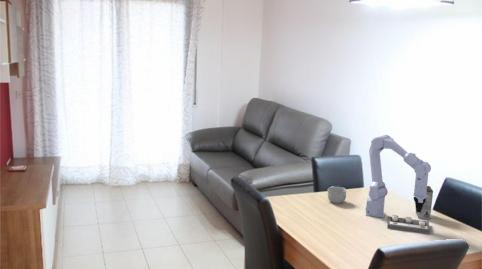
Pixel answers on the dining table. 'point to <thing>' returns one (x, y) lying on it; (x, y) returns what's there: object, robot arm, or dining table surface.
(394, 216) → the left button
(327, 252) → the dining table surface
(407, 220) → the middle button
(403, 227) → the button board
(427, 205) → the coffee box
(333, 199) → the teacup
